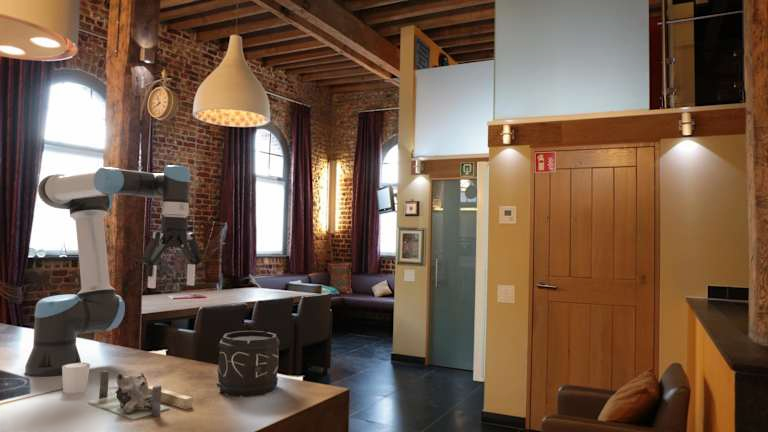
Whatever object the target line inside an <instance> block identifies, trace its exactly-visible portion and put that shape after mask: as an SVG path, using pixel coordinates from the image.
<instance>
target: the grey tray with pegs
mask: <svg viewBox="0 0 768 432" xmlns="http://www.w3.org/2000/svg"><path fill="white" fill-rule="evenodd" d="M99 374H100V375H99V377H100V379H99V393H98V394H99V395H98V399H93V400H89V401H88V402H87V404H89V405H91V406H94V407H97V408H99V409H103V410H106V411H108V412H111V413H114V414H117V415H120V416H123V417H125V418H128V419H131V420H136V419H140V418H144V417H147V416H148V417H149V416H150V415H151V416H150V417H152V418H157V417H160V416H161V412H165V411H168V410H170V408H171V407H168V406H166V405H162V404H161V403H164V404H168V405H171V406H175V407H177V408H181V409H184V410H187V409H190V408H192V406H193V397H192V396H188V395H185V394H182V393H178V392H175V391H171V390H168V389H165V388H162V385H150V384H148V393H147V395H149V394H151V392H152V411H151V410H150V409H148V408H137V409H136V410H134V412H132V413H128V412H126V413H125V412H124V411H123V408H120V402H119V400H118V399H117V394H114V395H109V393H108V392H109V379H110V378H109V375H110V372H109V370H101V371H100V373H99ZM108 395H109V396H108Z"/></svg>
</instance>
